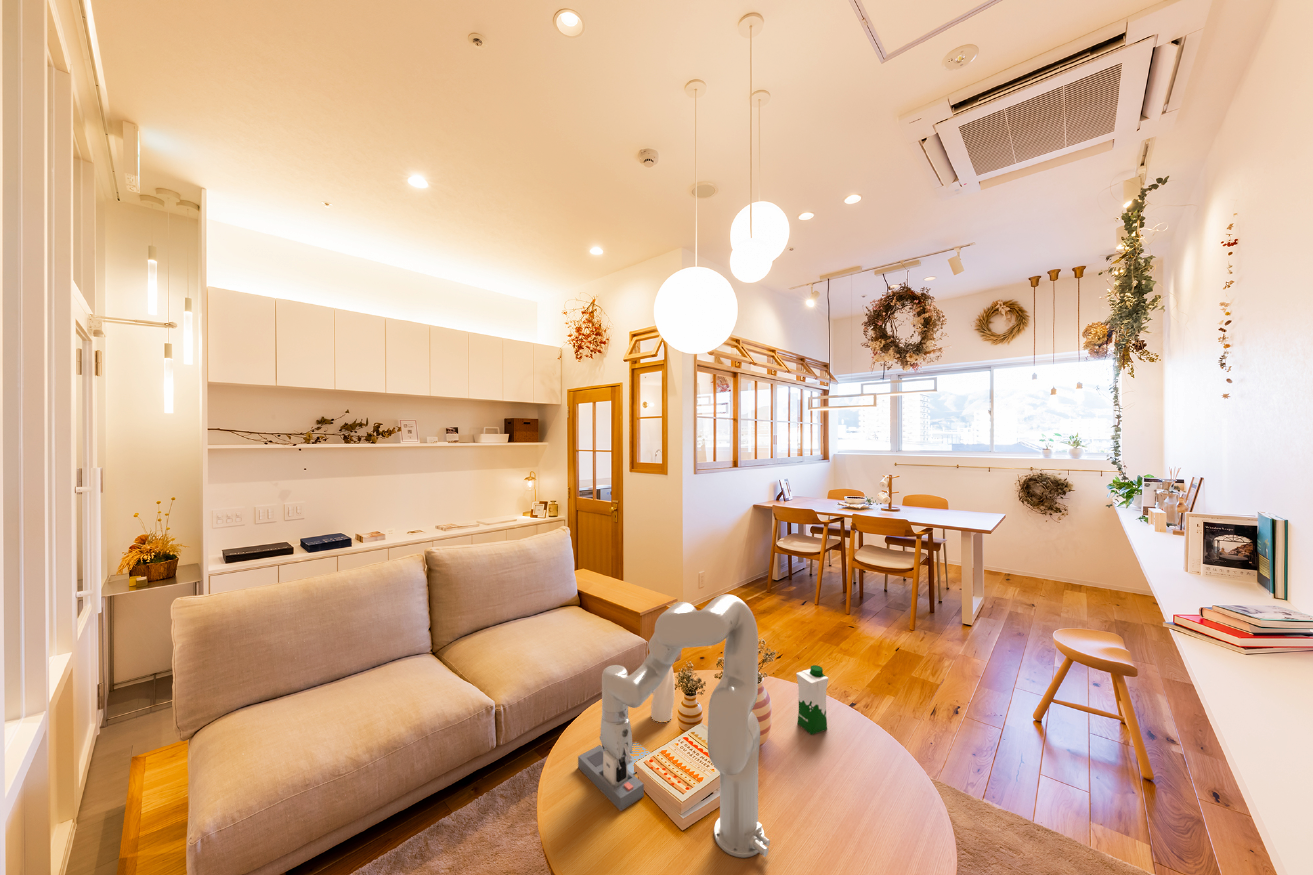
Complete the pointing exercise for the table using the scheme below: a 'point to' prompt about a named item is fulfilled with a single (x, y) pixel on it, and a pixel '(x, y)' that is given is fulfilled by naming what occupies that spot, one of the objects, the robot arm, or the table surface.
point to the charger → (612, 769)
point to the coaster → (636, 757)
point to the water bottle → (663, 698)
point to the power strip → (618, 796)
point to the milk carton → (812, 699)
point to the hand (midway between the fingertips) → (615, 773)
